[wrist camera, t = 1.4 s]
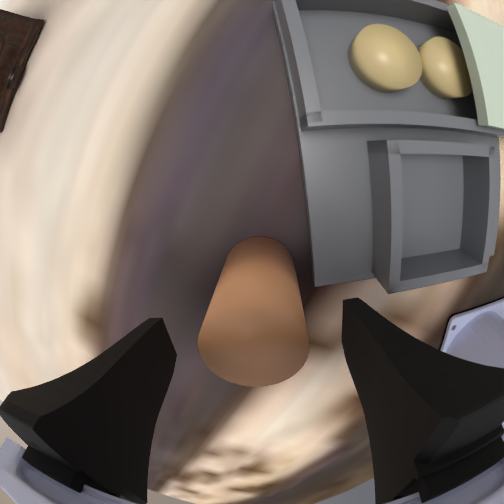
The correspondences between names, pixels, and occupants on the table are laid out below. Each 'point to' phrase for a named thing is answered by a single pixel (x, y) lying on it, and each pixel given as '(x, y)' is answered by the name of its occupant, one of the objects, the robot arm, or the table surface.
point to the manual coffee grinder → (14, 54)
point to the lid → (482, 62)
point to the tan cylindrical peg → (255, 317)
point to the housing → (389, 142)
